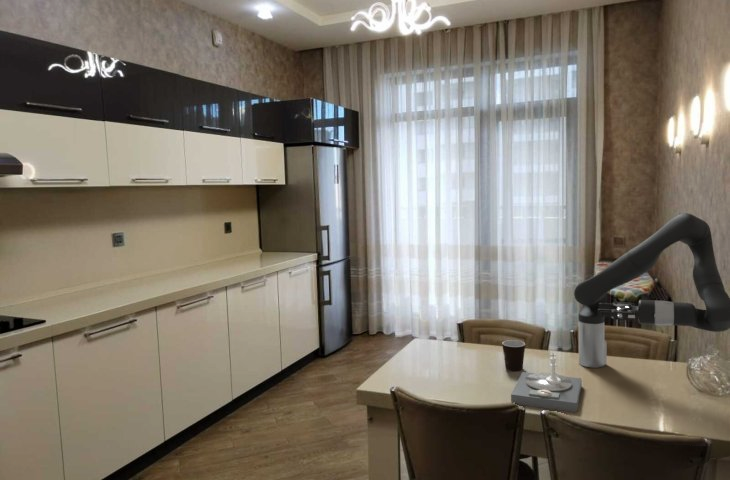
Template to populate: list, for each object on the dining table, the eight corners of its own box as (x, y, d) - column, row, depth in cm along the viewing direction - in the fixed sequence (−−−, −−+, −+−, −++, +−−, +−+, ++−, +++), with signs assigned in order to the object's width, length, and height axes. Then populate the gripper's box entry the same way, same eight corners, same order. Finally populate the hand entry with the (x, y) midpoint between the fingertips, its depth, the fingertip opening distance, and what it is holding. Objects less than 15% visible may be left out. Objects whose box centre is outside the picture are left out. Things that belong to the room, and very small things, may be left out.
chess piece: (543, 379, 178) (542, 351, 177) (557, 378, 178) (556, 350, 177) (549, 384, 173) (549, 355, 172) (563, 383, 173) (563, 354, 172)
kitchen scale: (522, 379, 189) (522, 368, 188) (581, 386, 180) (581, 375, 180) (511, 403, 169) (511, 391, 169) (576, 412, 160) (576, 399, 160)
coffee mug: (522, 373, 195) (521, 348, 194) (499, 370, 199) (499, 345, 198) (530, 364, 205) (529, 339, 204) (508, 361, 209) (508, 337, 208)
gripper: (654, 296, 165) (599, 293, 173) (657, 305, 153) (597, 302, 160) (654, 318, 166) (599, 315, 173) (657, 330, 153) (597, 326, 161)
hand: (598, 309), depth 167 cm, fingers open, 8 cm apart
